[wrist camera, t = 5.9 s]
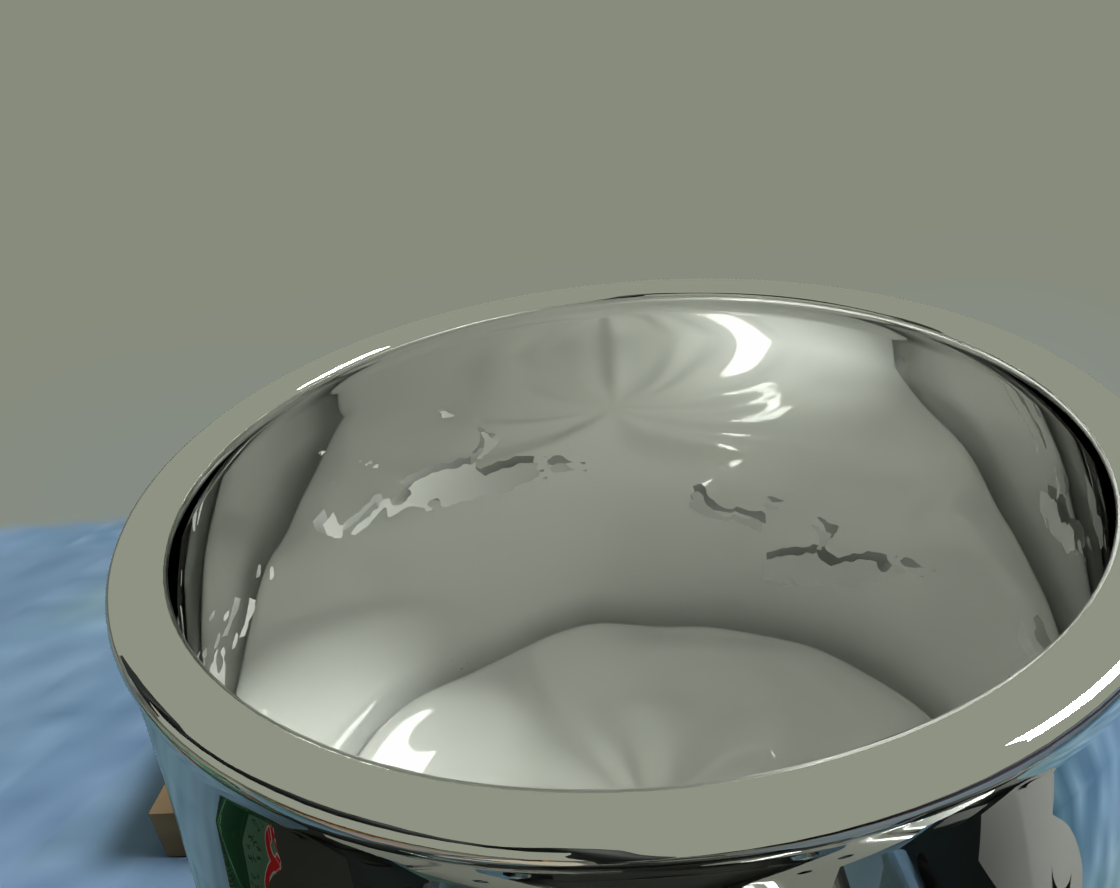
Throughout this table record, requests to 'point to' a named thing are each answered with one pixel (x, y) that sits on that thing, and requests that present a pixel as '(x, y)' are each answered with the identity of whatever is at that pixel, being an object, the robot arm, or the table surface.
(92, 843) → the table surface
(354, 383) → the beer glass
